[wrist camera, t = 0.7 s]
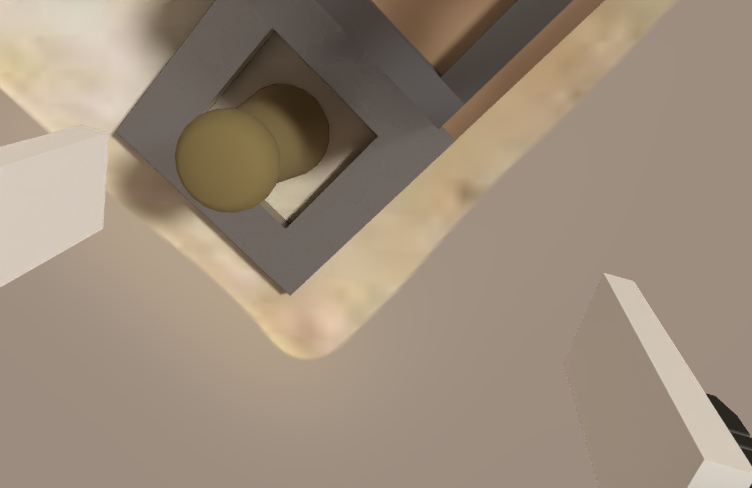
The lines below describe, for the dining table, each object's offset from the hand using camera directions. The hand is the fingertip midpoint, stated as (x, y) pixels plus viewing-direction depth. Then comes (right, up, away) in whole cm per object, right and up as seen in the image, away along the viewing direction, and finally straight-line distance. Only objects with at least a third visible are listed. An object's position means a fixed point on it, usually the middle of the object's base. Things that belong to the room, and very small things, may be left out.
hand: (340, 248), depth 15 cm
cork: (-5, +8, +23) cm, 25 cm away
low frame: (-5, +7, +23) cm, 24 cm away
